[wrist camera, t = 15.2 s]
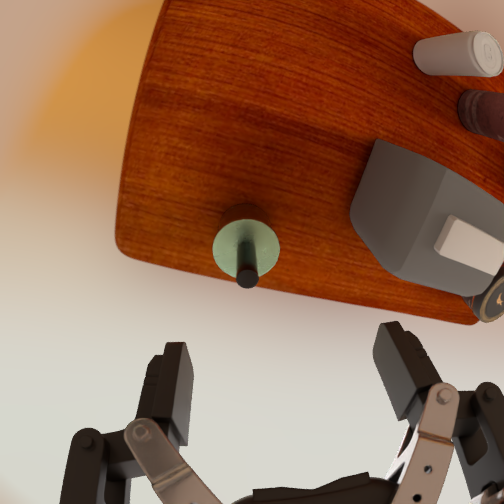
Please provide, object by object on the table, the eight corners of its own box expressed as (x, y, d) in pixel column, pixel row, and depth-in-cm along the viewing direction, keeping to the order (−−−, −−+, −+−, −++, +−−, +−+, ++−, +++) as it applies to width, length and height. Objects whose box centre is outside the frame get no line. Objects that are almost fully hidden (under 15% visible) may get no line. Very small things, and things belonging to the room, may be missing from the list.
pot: (222, 252, 39) (220, 275, 34) (216, 206, 36) (212, 223, 31) (271, 248, 39) (276, 270, 34) (268, 201, 36) (273, 218, 31)
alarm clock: (460, 182, 35) (536, 228, 21) (429, 251, 40) (488, 316, 26) (369, 135, 32) (445, 166, 19) (336, 220, 37) (385, 292, 24)
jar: (471, 304, 46) (492, 330, 39) (446, 286, 43) (469, 314, 37) (502, 263, 42) (526, 285, 35) (480, 239, 39) (508, 262, 33)
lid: (217, 276, 35) (214, 313, 29) (209, 218, 32) (202, 248, 26) (279, 270, 35) (287, 306, 29) (277, 212, 32) (285, 240, 26)
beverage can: (412, 73, 28) (475, 73, 18) (407, 37, 26) (468, 25, 16) (442, 77, 28) (506, 80, 18) (438, 42, 26) (501, 36, 15)
